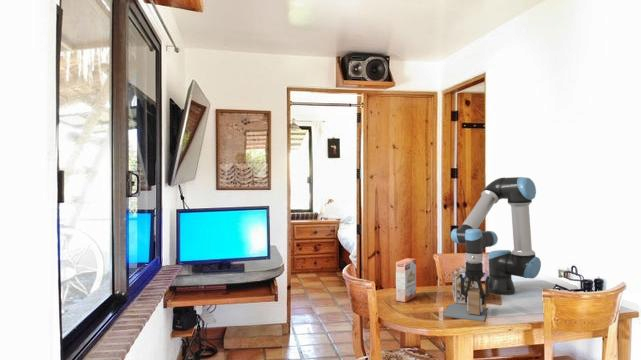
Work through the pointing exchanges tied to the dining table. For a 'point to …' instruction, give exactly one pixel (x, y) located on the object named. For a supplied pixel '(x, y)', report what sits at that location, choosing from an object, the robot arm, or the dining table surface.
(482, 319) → the rubber mat
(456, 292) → the decorative jar
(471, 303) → the walnut block
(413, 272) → the cracker box
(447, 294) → the dining table surface
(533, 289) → the dining table surface
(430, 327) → the dining table surface
